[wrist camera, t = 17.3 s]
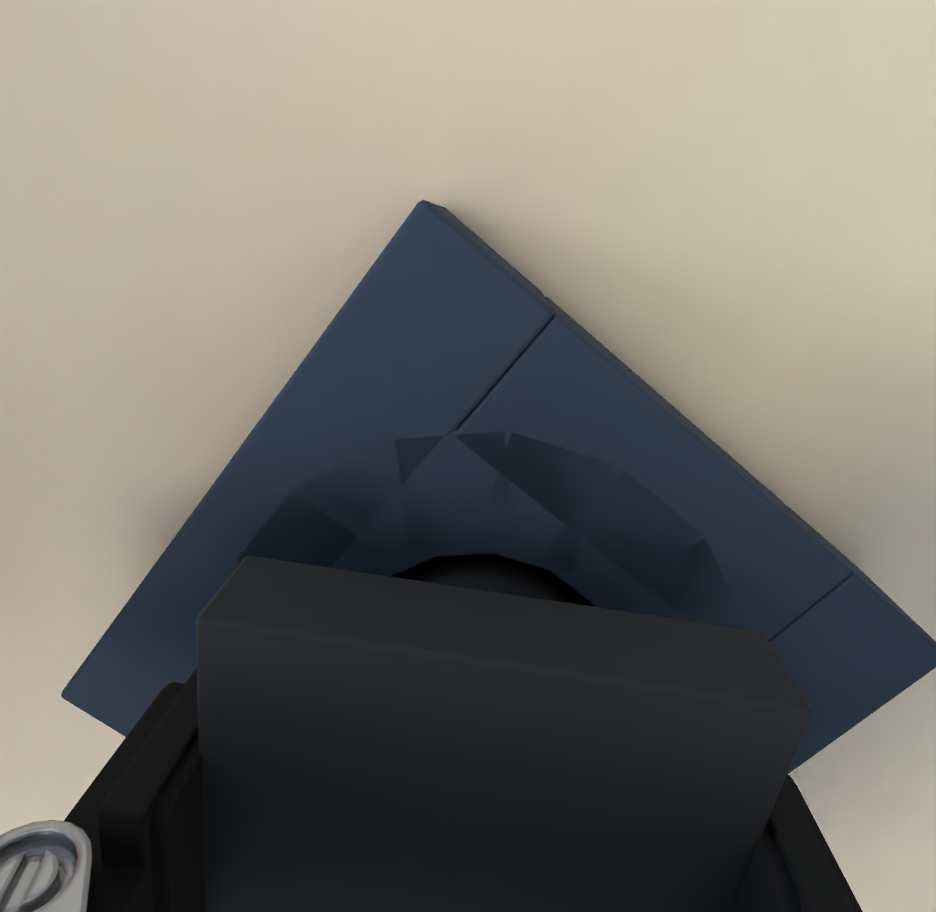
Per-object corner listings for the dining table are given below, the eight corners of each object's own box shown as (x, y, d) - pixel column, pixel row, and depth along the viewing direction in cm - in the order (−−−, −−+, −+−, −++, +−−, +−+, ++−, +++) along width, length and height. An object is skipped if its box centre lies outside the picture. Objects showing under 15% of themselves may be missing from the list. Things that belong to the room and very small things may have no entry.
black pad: (677, 494, 13) (816, 710, 7) (605, 760, 15) (664, 1081, 9) (332, 444, 13) (192, 617, 7) (316, 717, 15) (201, 1009, 9)
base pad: (862, 571, 14) (952, 658, 11) (510, 855, 18) (511, 975, 15) (441, 204, 12) (421, 196, 9) (139, 612, 15) (56, 697, 13)
